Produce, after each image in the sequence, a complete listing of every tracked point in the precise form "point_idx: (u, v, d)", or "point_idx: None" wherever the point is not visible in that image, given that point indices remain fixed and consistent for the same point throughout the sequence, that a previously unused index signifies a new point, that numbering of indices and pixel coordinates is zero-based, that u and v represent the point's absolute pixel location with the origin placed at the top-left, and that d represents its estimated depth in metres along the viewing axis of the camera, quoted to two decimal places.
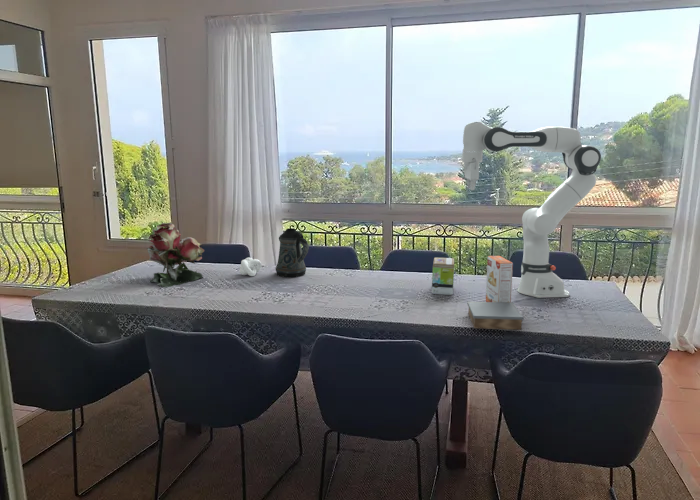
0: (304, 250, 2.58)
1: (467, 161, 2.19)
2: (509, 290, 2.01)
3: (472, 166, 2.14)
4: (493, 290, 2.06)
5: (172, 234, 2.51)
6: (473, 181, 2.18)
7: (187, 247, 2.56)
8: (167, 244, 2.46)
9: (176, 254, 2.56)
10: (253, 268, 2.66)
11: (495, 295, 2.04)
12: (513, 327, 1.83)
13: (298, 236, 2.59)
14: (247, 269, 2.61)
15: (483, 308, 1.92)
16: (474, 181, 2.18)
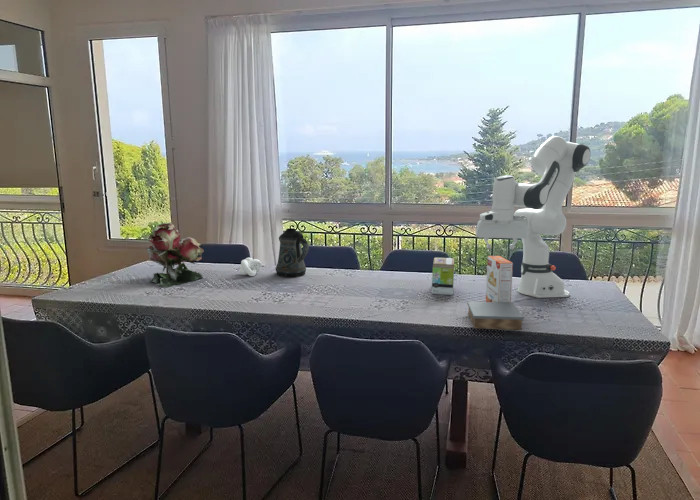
0: (304, 250, 2.58)
1: (512, 219, 2.00)
2: (509, 290, 2.01)
3: (525, 224, 2.01)
4: (493, 290, 2.06)
5: (172, 234, 2.50)
6: None
7: (187, 248, 2.56)
8: (167, 244, 2.46)
9: (176, 254, 2.56)
10: (253, 268, 2.66)
11: (495, 295, 2.04)
12: (513, 327, 1.83)
13: (298, 236, 2.59)
14: (247, 269, 2.61)
15: (483, 308, 1.92)
16: None
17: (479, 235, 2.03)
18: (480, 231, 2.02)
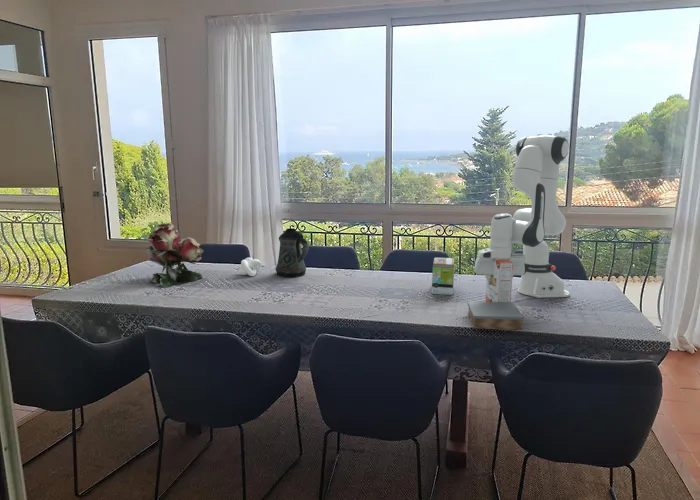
0: (304, 250, 2.58)
1: (509, 257, 2.03)
2: (509, 290, 2.01)
3: (523, 261, 2.04)
4: (493, 290, 2.06)
5: (171, 234, 2.50)
6: None
7: (187, 248, 2.56)
8: (166, 244, 2.45)
9: (175, 254, 2.55)
10: (253, 268, 2.66)
11: (495, 295, 2.04)
12: (513, 327, 1.83)
13: (298, 236, 2.59)
14: (247, 269, 2.61)
15: (483, 308, 1.92)
16: None
17: (477, 272, 2.06)
18: (478, 268, 2.05)
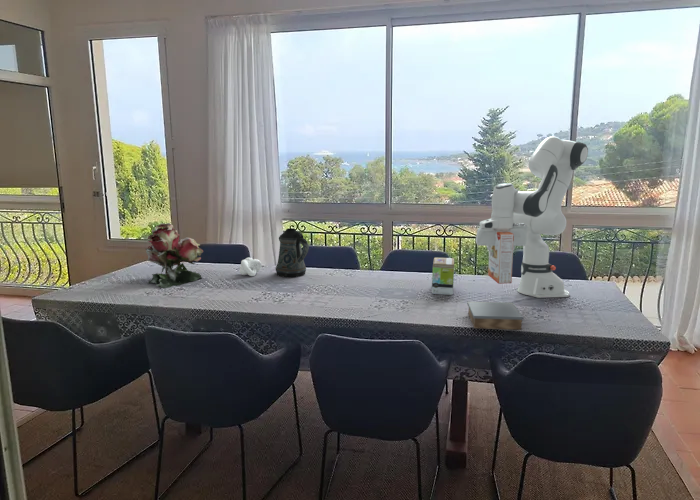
0: (304, 250, 2.58)
1: (511, 227, 2.00)
2: (510, 262, 1.99)
3: (525, 231, 2.02)
4: (494, 262, 2.04)
5: (171, 234, 2.49)
6: None
7: (186, 248, 2.55)
8: (166, 245, 2.45)
9: (175, 255, 2.55)
10: (253, 268, 2.66)
11: (496, 267, 2.02)
12: (513, 327, 1.83)
13: (298, 236, 2.59)
14: (247, 269, 2.61)
15: (483, 308, 1.92)
16: None
17: (479, 243, 2.04)
18: (480, 239, 2.03)
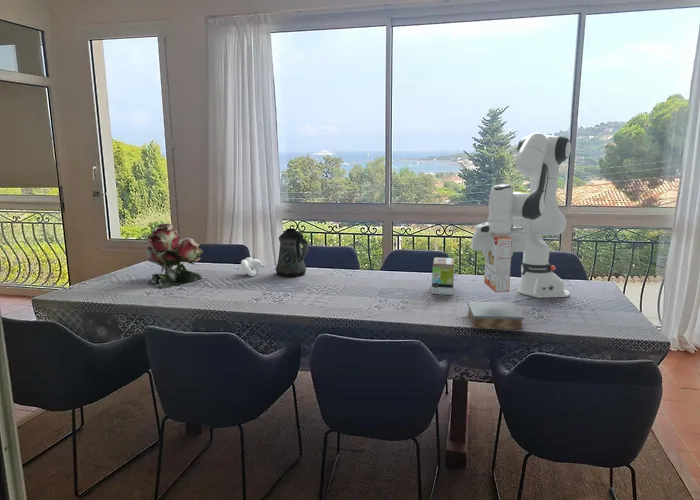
0: (304, 250, 2.58)
1: (509, 231, 1.86)
2: (508, 269, 1.85)
3: (524, 236, 1.87)
4: (491, 269, 1.90)
5: (170, 235, 2.49)
6: None
7: (186, 248, 2.55)
8: (166, 245, 2.44)
9: (174, 255, 2.54)
10: (253, 268, 2.66)
11: (493, 275, 1.88)
12: (513, 327, 1.83)
13: (298, 236, 2.59)
14: (247, 269, 2.61)
15: (483, 308, 1.92)
16: None
17: (474, 248, 1.90)
18: (476, 244, 1.89)
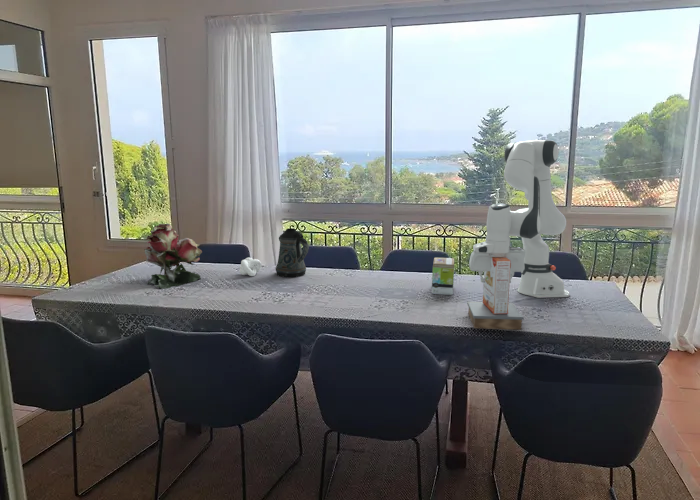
0: (304, 250, 2.58)
1: (508, 251, 1.83)
2: (506, 290, 1.82)
3: (523, 256, 1.85)
4: (490, 291, 1.87)
5: (170, 235, 2.48)
6: None
7: (185, 248, 2.54)
8: (165, 245, 2.43)
9: (174, 255, 2.53)
10: (253, 268, 2.66)
11: (491, 296, 1.85)
12: (513, 327, 1.83)
13: (298, 236, 2.59)
14: (247, 269, 2.61)
15: (483, 308, 1.92)
16: None
17: (472, 268, 1.87)
18: (473, 264, 1.86)
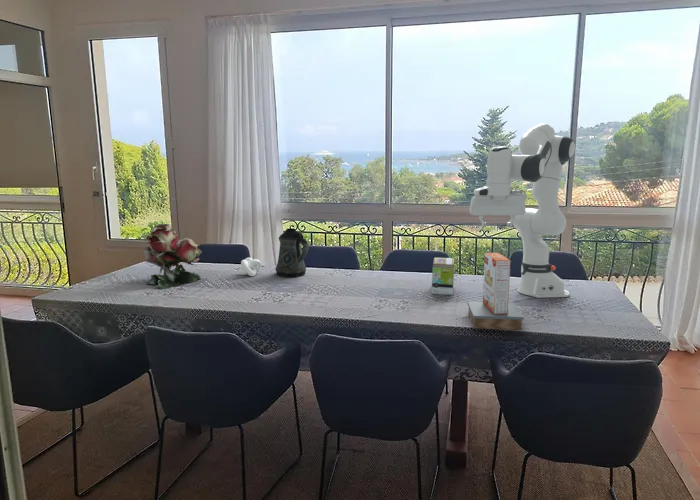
0: (304, 250, 2.58)
1: (509, 194, 1.82)
2: (506, 291, 1.82)
3: (524, 199, 1.83)
4: (489, 291, 1.87)
5: (169, 235, 2.47)
6: None
7: (185, 249, 2.53)
8: (165, 245, 2.43)
9: (173, 255, 2.53)
10: (253, 268, 2.66)
11: (491, 296, 1.85)
12: (513, 327, 1.83)
13: (298, 236, 2.59)
14: (247, 269, 2.61)
15: (483, 308, 1.92)
16: None
17: (473, 212, 1.85)
18: (474, 208, 1.85)
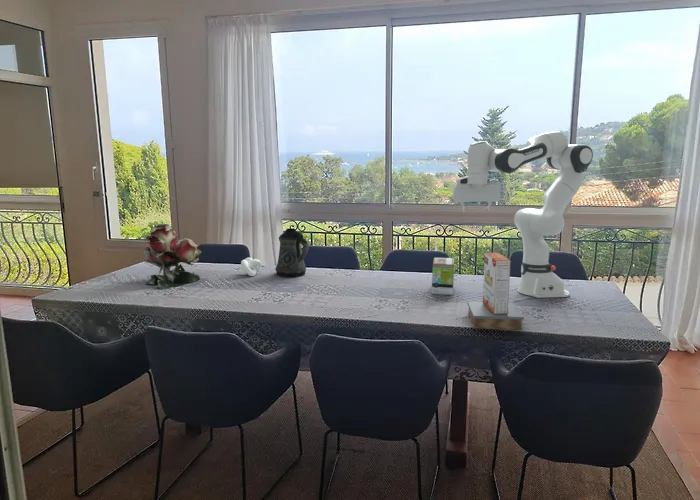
0: (304, 250, 2.58)
1: (486, 183, 2.10)
2: (506, 291, 1.82)
3: None
4: (489, 291, 1.87)
5: (169, 235, 2.47)
6: None
7: (184, 249, 2.53)
8: (164, 245, 2.42)
9: (173, 256, 2.52)
10: (253, 268, 2.66)
11: (491, 296, 1.85)
12: (513, 327, 1.83)
13: (298, 236, 2.59)
14: (247, 269, 2.61)
15: (483, 308, 1.92)
16: None
17: (455, 199, 2.13)
18: (456, 195, 2.12)
